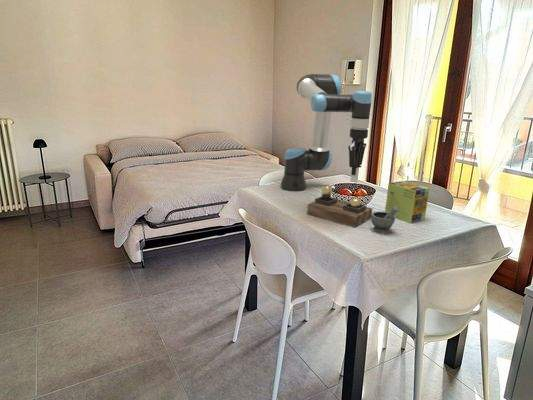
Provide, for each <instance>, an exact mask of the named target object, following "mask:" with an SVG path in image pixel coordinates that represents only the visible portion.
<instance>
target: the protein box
mask: <svg viewBox="0 0 533 400" xmlns="http://www.w3.org/2000/svg"><path fill="white" fill-rule="evenodd" d="M430 190H431V189H430V187H428V186H424V185H420V184H417V183H412V182H408V181H405V180H401V181H394V182H389V183H388V187H387V193H386V194H387V195H386V200H385V201H386V202H385V207H384V208H385V209H384V212H387V213H389V212H390V211H391V209H392V207H393V206H395V207H397V208H398V209H399V211H398V212H396V214H395V215H394V216H395V219H398V220H401V221H405V222H407V223H409V224H413V223H417V222H420V221H424V220H425V219H426V213H427V207H428V200H429V193H430Z"/></svg>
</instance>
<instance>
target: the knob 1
mask: <svg viewBox="0 0 533 400" xmlns="http://www.w3.org/2000/svg"><path fill="white" fill-rule="evenodd" d="M321 187H322V189H321V196H322V197H325V198H330V197H331V198H332V192H333V191H332V189H333V188H332V187H333V186H332V185H329V184H323V185H322V186H321Z"/></svg>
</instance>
